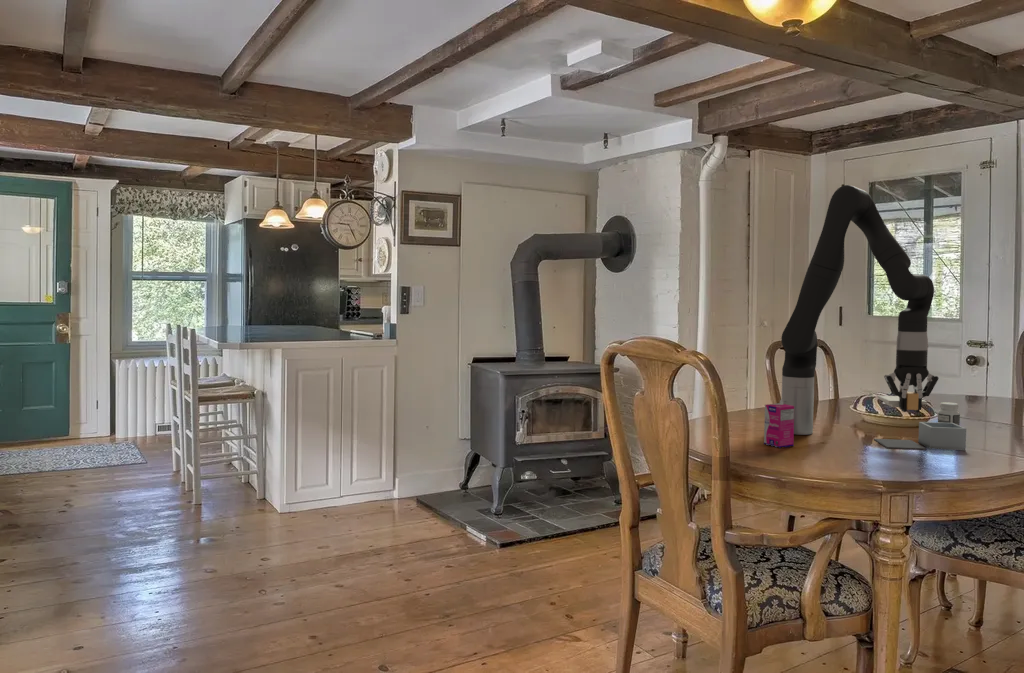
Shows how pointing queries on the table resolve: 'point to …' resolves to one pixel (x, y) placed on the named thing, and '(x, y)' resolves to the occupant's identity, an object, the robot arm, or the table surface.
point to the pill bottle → (949, 413)
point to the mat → (899, 444)
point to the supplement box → (779, 425)
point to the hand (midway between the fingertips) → (910, 411)
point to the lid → (911, 400)
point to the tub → (942, 436)
